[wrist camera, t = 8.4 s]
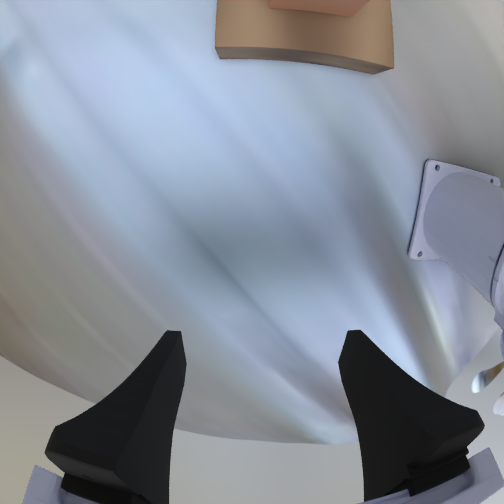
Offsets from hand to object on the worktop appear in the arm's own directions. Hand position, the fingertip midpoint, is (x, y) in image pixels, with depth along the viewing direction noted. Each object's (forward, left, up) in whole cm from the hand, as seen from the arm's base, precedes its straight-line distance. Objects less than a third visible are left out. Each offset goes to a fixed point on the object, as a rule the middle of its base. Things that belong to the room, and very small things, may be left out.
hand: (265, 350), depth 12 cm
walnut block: (-2, -18, -10) cm, 21 cm away
